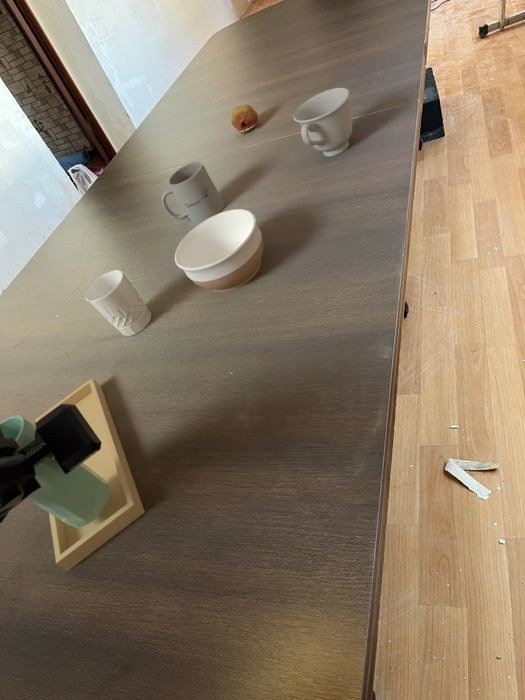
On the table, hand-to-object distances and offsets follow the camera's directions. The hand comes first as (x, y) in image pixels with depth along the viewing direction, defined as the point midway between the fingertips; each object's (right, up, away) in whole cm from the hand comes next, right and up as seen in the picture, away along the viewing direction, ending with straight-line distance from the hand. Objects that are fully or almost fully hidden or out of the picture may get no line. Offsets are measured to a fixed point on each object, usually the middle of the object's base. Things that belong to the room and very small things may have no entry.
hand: (45, 467), depth 60 cm
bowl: (+22, +29, +30) cm, 47 cm away
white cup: (+3, +19, +33) cm, 38 cm away
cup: (+4, -5, +4) cm, 8 cm away
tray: (+1, -2, +13) cm, 13 cm away
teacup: (+42, +56, +45) cm, 83 cm away
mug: (+12, +45, +53) cm, 71 cm away
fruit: (+23, +75, +74) cm, 108 cm away
